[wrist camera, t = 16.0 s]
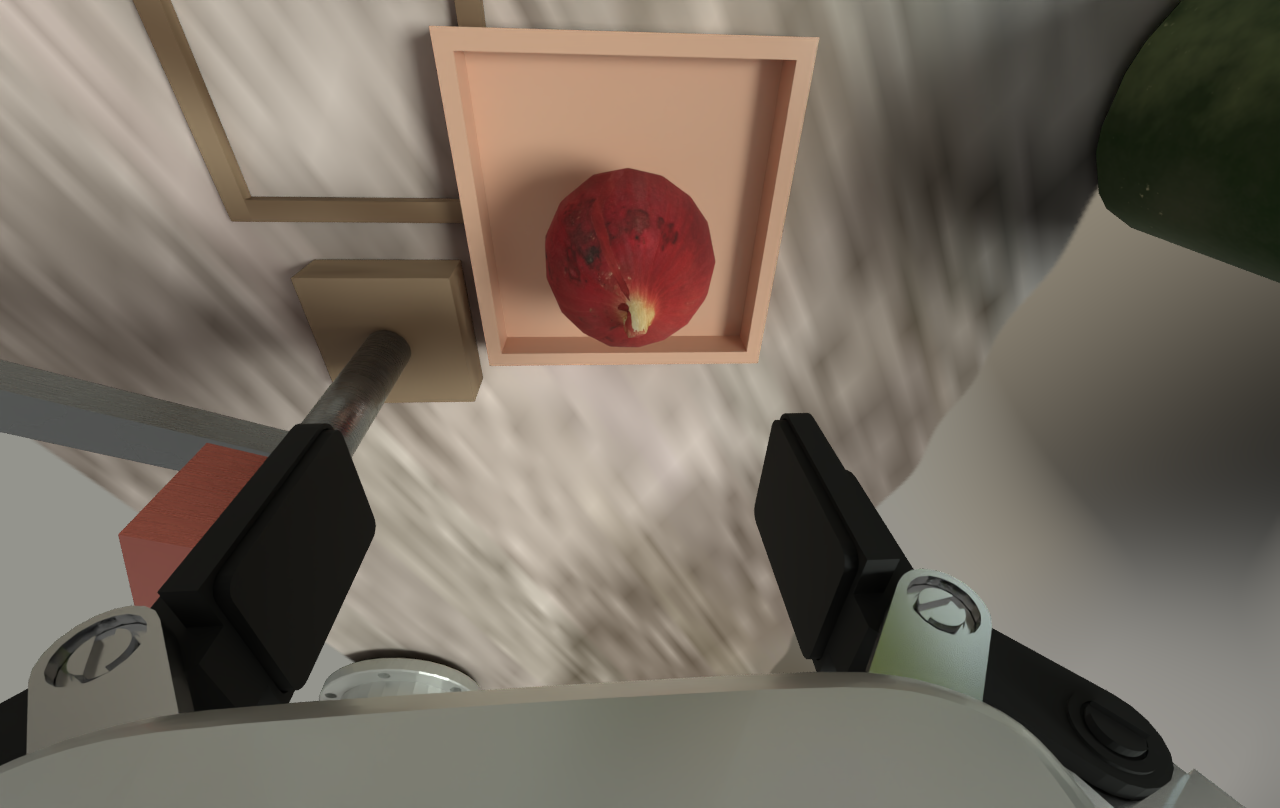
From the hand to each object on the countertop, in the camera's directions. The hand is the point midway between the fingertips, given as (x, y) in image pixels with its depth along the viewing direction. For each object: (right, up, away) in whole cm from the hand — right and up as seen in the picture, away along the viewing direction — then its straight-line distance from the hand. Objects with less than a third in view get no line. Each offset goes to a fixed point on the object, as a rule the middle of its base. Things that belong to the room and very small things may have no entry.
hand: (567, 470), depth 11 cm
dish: (+1, +9, +10) cm, 13 cm away
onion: (+1, +9, +9) cm, 13 cm away
